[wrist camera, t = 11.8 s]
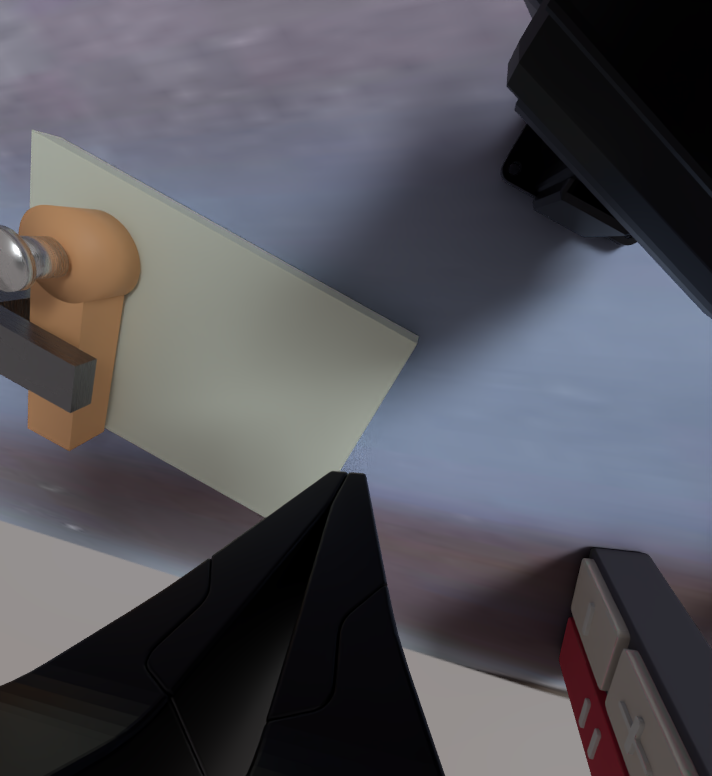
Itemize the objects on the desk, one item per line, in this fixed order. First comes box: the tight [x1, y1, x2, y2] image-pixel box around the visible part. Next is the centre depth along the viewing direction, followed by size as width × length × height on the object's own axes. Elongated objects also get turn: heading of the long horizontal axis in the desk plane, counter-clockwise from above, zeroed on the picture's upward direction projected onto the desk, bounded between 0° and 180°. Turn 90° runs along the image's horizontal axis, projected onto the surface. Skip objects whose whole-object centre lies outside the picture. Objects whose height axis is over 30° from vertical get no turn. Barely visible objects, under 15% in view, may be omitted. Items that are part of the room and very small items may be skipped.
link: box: [19, 205, 140, 451], centre depth 20 cm, size 14×4×2 cm, turn 154°
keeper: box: [0, 225, 97, 413], centre depth 19 cm, size 8×8×7 cm
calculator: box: [559, 548, 712, 776], centre depth 16 cm, size 11×4×15 cm, turn 4°
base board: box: [30, 130, 419, 518], centre depth 21 cm, size 16×22×2 cm
